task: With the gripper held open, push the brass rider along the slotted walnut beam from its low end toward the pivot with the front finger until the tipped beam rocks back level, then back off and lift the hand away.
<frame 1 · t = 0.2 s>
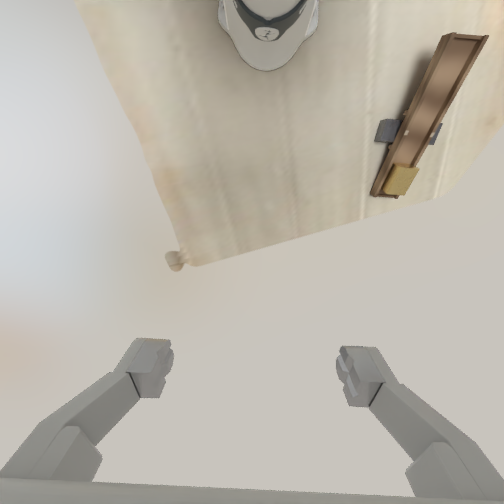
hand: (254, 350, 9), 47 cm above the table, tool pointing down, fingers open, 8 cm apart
beam: (412, 132, 42), point 3 cm above the table, tilted 12°, touching fulcrum, rider
rider: (393, 176, 47), point 2 cm above the table, tilted 12°, touching beam
fulcrum: (403, 133, 45), on the table
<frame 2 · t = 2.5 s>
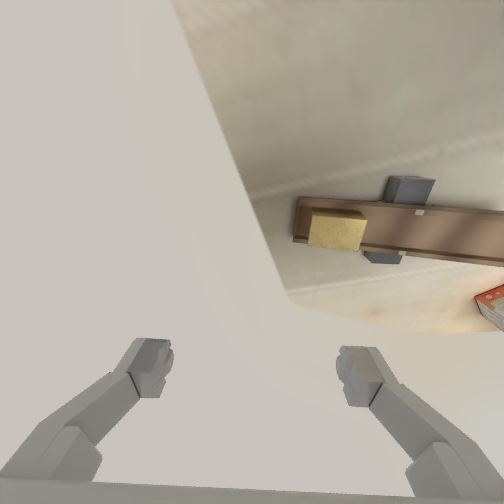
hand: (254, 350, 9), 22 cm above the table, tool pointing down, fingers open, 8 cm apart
beam: (402, 227, 26), point 3 cm above the table, tilted 12°, touching fulcrum, rider
rider: (332, 223, 27), point 2 cm above the table, tilted 12°, touching beam
fulcrum: (389, 220, 29), on the table
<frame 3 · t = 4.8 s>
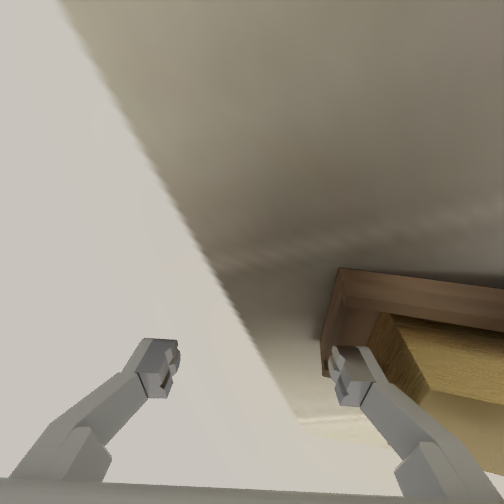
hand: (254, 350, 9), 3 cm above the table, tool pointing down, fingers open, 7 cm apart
rider: (436, 343, 10), point 2 cm above the table, tilted 11°, touching gripper
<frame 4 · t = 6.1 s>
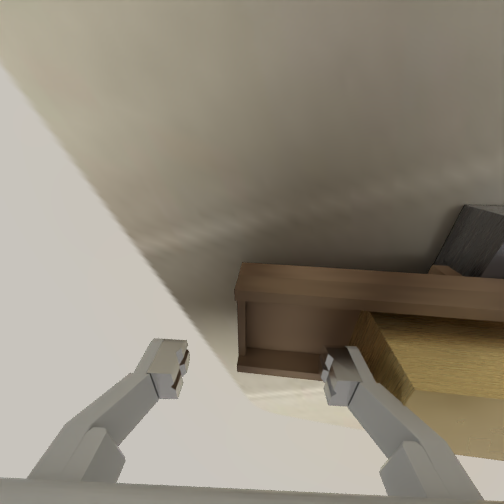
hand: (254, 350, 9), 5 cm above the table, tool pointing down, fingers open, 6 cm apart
beam: (489, 323, 11), point 3 cm above the table, touching fulcrum, rider
rider: (412, 335, 10), point 4 cm above the table, touching beam, gripper
fulcrum: (449, 293, 13), on the table
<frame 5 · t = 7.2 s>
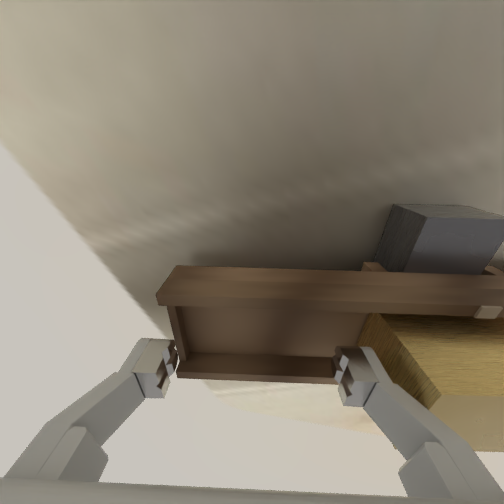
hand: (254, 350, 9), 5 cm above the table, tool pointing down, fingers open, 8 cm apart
beam: (418, 316, 12), point 2 cm above the table, touching fulcrum, rider
rider: (416, 334, 11), point 4 cm above the table, touching beam, gripper
fulcrum: (392, 289, 14), on the table
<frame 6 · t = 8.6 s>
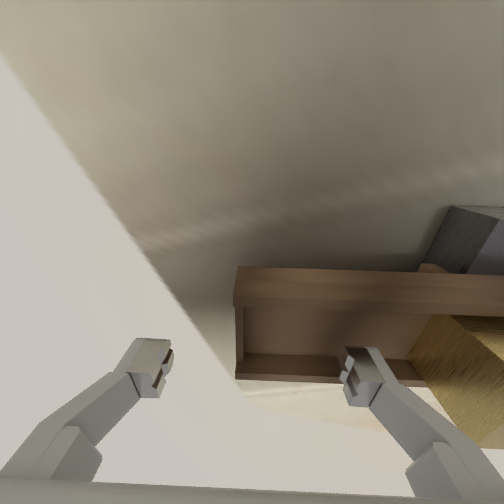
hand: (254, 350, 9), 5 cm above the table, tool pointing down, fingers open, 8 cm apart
beam: (473, 317, 12), point 2 cm above the table, touching fulcrum, rider
rider: (476, 335, 11), point 4 cm above the table, touching beam
fulcrum: (438, 290, 14), on the table
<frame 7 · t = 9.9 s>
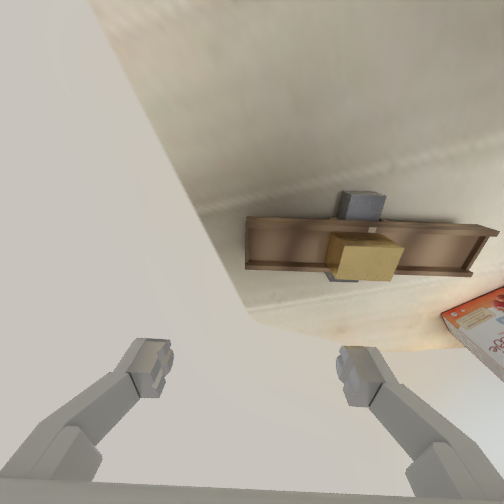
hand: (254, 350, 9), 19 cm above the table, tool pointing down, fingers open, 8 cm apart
beam: (355, 243, 25), point 2 cm above the table, touching fulcrum, rider
cracker box: (486, 302, 32), on the table
rider: (351, 248, 24), point 4 cm above the table, touching beam
fulcrum: (346, 235, 27), on the table
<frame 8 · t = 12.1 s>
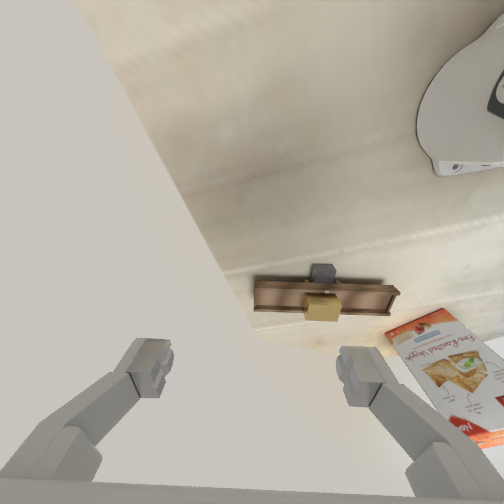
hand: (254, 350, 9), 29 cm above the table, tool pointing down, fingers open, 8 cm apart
beam: (320, 294, 41), point 2 cm above the table, touching fulcrum, rider
cracker box: (414, 326, 48), on the table
rider: (317, 298, 40), point 4 cm above the table, touching beam
fulcrum: (317, 287, 43), on the table
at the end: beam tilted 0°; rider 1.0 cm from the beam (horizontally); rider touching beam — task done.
